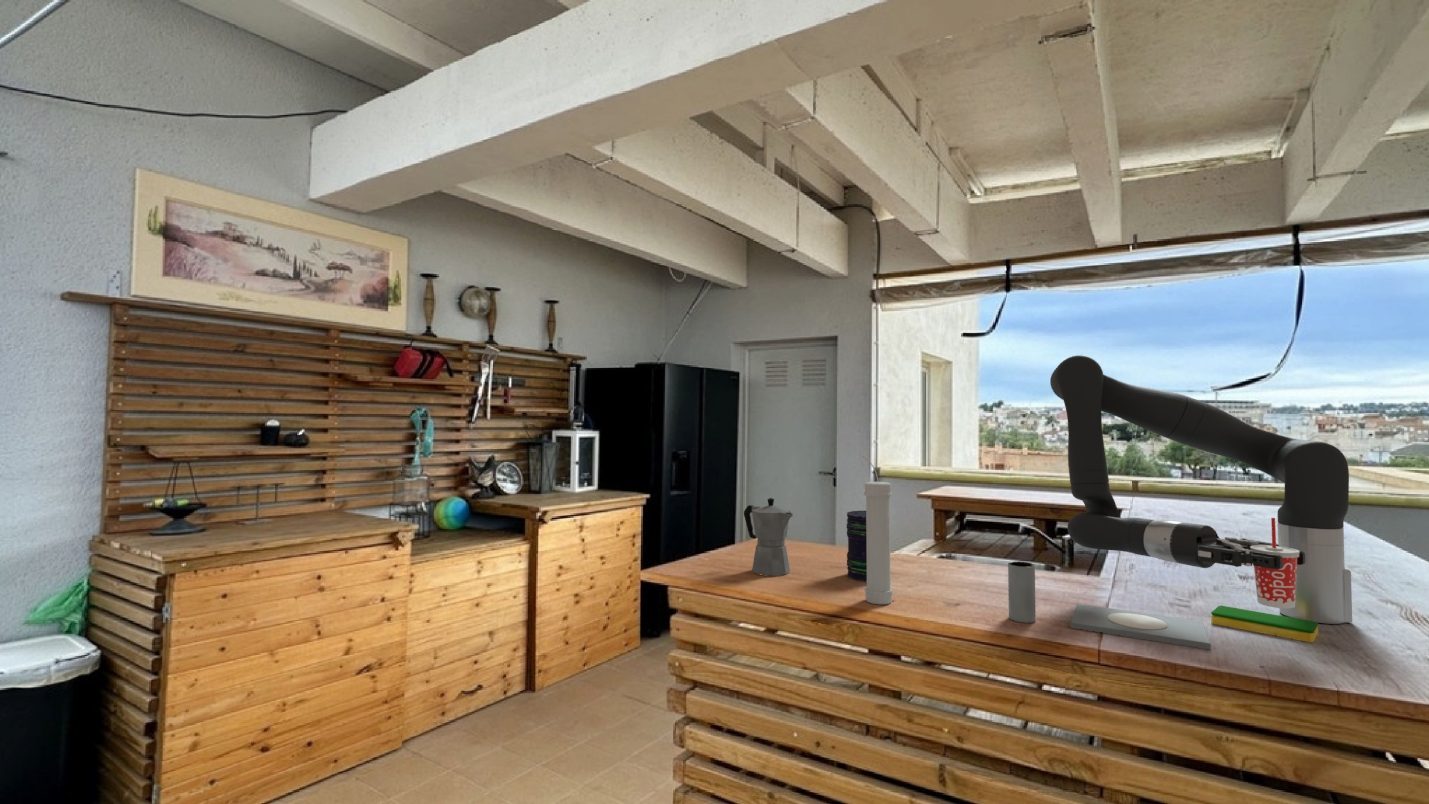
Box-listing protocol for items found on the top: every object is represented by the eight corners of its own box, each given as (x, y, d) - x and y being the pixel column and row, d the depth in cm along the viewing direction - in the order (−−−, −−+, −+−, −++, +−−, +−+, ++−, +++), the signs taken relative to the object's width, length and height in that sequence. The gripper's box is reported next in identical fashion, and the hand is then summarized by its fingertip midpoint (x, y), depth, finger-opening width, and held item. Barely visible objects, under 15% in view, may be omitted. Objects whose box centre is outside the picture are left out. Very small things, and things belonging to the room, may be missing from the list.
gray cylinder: (1024, 624, 118) (1024, 567, 118) (1003, 617, 122) (1002, 562, 122) (1041, 620, 120) (1040, 565, 120) (1019, 614, 124) (1018, 560, 125)
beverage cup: (1250, 605, 105) (1247, 518, 106) (1253, 596, 110) (1250, 513, 110) (1301, 612, 101) (1298, 522, 101) (1301, 603, 106) (1298, 517, 106)
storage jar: (895, 575, 155) (894, 512, 156) (882, 584, 147) (881, 517, 147) (855, 570, 161) (854, 509, 161) (840, 578, 152) (840, 514, 153)
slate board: (1203, 626, 117) (1203, 619, 117) (1210, 649, 105) (1210, 642, 105) (1076, 608, 128) (1076, 602, 128) (1070, 627, 116) (1070, 621, 116)
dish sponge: (1219, 617, 124) (1219, 604, 124) (1318, 635, 113) (1318, 621, 113) (1210, 625, 119) (1210, 612, 119) (1313, 645, 109) (1313, 630, 109)
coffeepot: (804, 573, 157) (804, 498, 158) (779, 580, 151) (779, 502, 151) (757, 563, 168) (756, 493, 169) (731, 569, 162) (731, 496, 162)
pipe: (893, 606, 130) (892, 455, 131) (861, 604, 131) (860, 455, 132) (891, 598, 135) (890, 454, 136) (860, 596, 136) (860, 454, 137)
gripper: (1155, 525, 116) (1267, 541, 100) (1203, 519, 122) (1315, 533, 107) (1156, 567, 116) (1269, 589, 100) (1204, 559, 122) (1317, 579, 106)
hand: (1292, 560), depth 103 cm, fingers closed on beverage cup, 6 cm apart
